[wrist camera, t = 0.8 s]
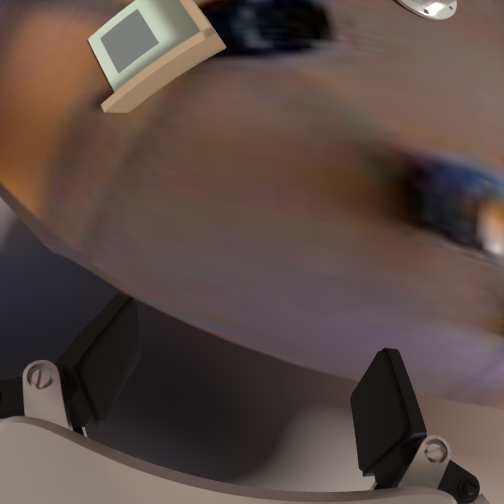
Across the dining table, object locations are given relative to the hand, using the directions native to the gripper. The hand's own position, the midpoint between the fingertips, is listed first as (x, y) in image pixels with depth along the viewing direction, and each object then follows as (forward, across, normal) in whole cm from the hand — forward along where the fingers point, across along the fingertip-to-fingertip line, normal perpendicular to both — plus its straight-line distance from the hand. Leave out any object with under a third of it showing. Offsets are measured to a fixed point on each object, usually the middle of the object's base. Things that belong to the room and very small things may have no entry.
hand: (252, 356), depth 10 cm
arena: (+28, +21, -19) cm, 40 cm away
